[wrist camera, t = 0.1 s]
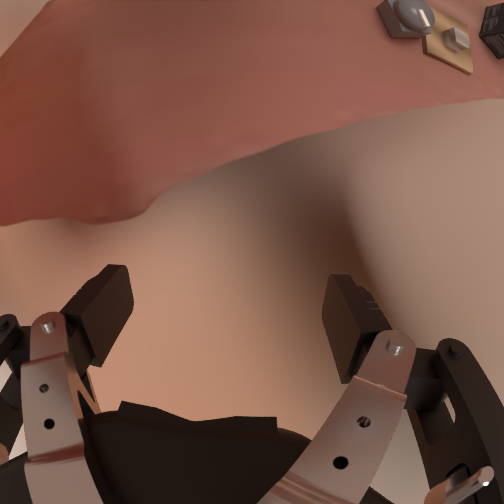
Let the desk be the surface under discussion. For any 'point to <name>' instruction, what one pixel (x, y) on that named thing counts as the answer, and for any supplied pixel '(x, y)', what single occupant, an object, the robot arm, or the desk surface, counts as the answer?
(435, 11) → the shaft base
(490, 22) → the small box
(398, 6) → the knob
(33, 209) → the desk surface
